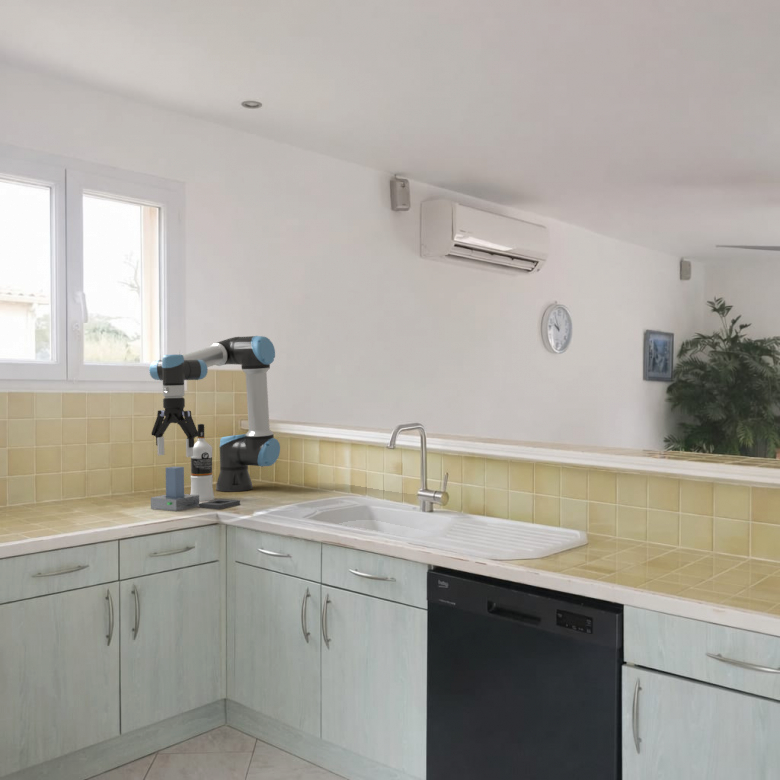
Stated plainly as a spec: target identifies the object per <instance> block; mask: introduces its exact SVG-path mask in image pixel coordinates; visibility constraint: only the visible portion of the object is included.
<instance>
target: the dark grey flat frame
mask: <svg viewBox="0 0 780 780" xmlns="http://www.w3.org/2000/svg"><path fill="white" fill-rule="evenodd" d="M240 505H241V500H238V499H226V498H218V499H213V500H209V501H203V502H201V503H200V502H199V506H198V509H206V510H207V509H210V510H217V511H218V510H219V511H220V510H223V509H228V508H232V507H236V506H240Z"/></svg>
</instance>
